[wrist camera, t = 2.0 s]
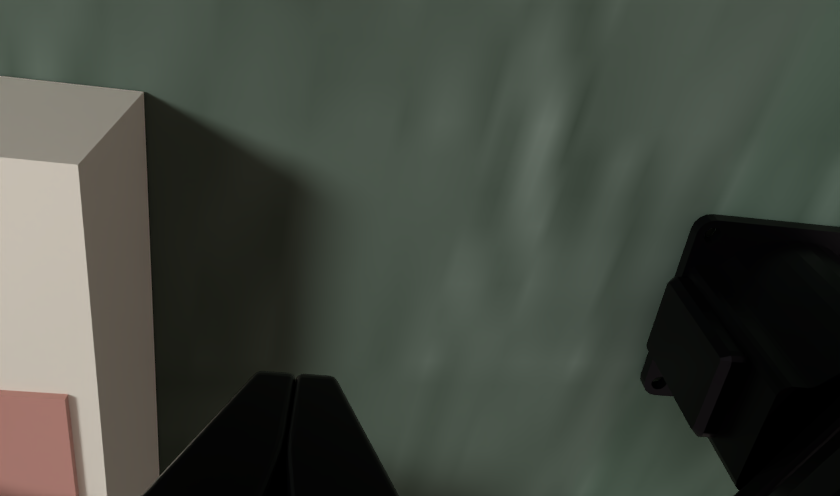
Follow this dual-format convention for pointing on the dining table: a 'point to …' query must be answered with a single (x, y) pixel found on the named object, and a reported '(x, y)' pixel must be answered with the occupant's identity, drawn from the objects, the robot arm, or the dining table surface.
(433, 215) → the dining table surface
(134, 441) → the breaker housing
